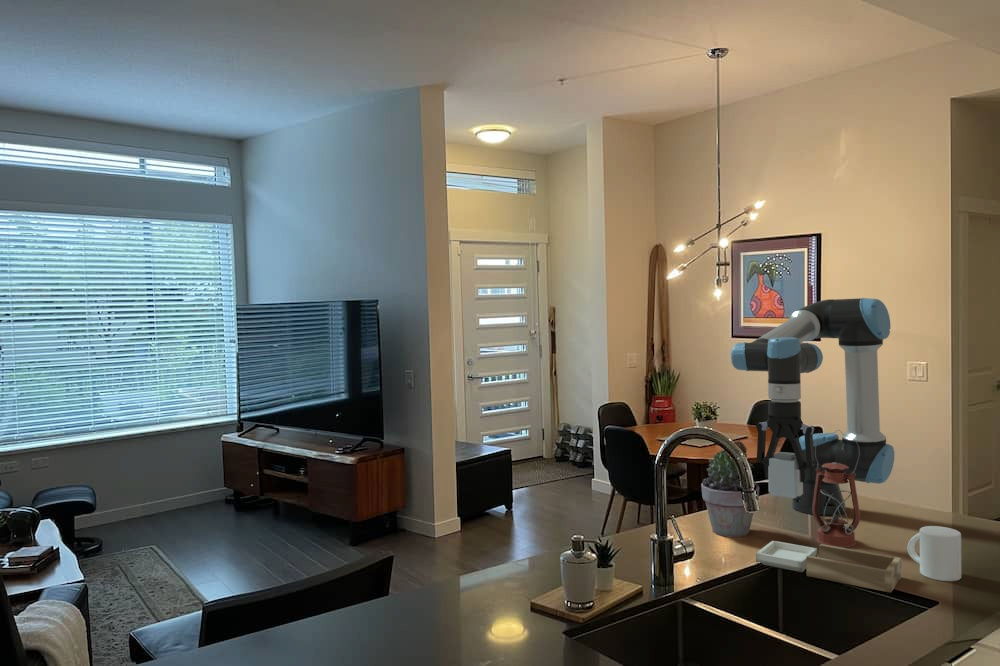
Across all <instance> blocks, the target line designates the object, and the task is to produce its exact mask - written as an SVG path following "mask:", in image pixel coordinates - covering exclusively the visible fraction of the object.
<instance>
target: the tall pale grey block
mask: <svg viewBox="0 0 1000 666" xmlns="http://www.w3.org/2000/svg"><path fill="white" fill-rule="evenodd" d="M798 468H799V465H798V462H797V459H796V456H795V453H794V452H785V451H784V452H782V451H779V452H776V453H775V454H774V457H772V458H770V459H769V480H770V492H769V496H775V497H782V498H789V499H793V498H796V497H797V496H796V469H798Z"/></svg>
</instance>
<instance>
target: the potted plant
mask: <svg viewBox="0 0 1000 666" xmlns="http://www.w3.org/2000/svg"><path fill="white" fill-rule="evenodd" d="M733 442H734V443H735V444H736V445H737V446H738V447H739V448H740V449H741V451H742V452H743V454H744V455H745V457H746V458H748V457H747V456H748V454H747V450H748V449H747V447H746V446H745V444H744V443H743V442H742V441H740V440H734V441H732V443H733ZM709 456H712V458H711V459H708V462H709V464H708V465H706V466H708V468H706V472H707V474H708V477H707V478H704V479H703V480H702V482H701V484H700V486H699V487H698V488H697V489H699V488H700V487H701V494H702V495H701V496H702V499H703V501H704V502H705V505H706V509H707V514H708V518H709V522H710V525H711V529H712V533H714V534H716V535H718V536H722V537H727V538H739V537H738V536H741V537H745V536H748V535H749V533H750V529H751V524H752V520H753V516H754V512H753V513H749V512H746V511H745V508H744V504H743V499H742V494H741V488H740V482H739V479H738V475H737V471H736V468H735V466H734V463H733V461H732V459H731V458H730V456H729V455H728V453H727V452H726V451H725V450H724V448H723V449H722V450H720V451H717V452H716V454H709ZM748 463H749V465H750V467H751V468H753V469H755V467H754V466H753V465H754V463H751V462H750V461H748ZM706 466H705V467H706ZM754 483H755V485H756V491H757V495H758V499H759V498H760V486H759V485H758V484H759V483H756V482H754ZM747 534H748V535H747ZM744 535H745V536H744Z"/></svg>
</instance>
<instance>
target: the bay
mask: <svg viewBox="0 0 1000 666" xmlns="http://www.w3.org/2000/svg"><path fill="white" fill-rule="evenodd" d="M805 570H806V573H805V574H806V576H807V577H811V578H814V579H815V578H816V579H821V580H826V581H831V582H836V583H840V584H846V585H851V586H857V587H860V588H866V589H871V590H876V591H879V592H880V591H881V592H886V593H892V592H893V590H894V588H895V587H896V586H897V584H898V583H899V581H900V580H901V578H902V557H898V556H892V555H887V554H881V553H874V552H870V551H864V550H859V549H852V548H848V547H835V546H829V545H824V544H821V543H820V544H819V545H818V556H817V557H814V556H807V557H806V569H805Z"/></svg>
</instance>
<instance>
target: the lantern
mask: <svg viewBox="0 0 1000 666" xmlns="http://www.w3.org/2000/svg"><path fill="white" fill-rule="evenodd" d="M839 431H840V433H841V434H842V435H844V433H842V431H841V430H840V429H838V430H836V431H835V432H828V433H829V434H832V433H834V434H836V432H839ZM824 435H827V434H824ZM820 436H822V435H820ZM845 436H847V435H845ZM818 437H819V436H818ZM818 437H817V438H818ZM848 437H849V436H848ZM817 438H816V440H817ZM850 438H852V437H850ZM852 439H853V438H852ZM854 440H855V439H854ZM855 441H856V440H855ZM856 443H857V442H856ZM857 445H858V444H857ZM858 448H859V446H858ZM859 455H860V450H859ZM815 457H816V442H815ZM858 459H859V457H858ZM816 460H817V459H816ZM817 463H818V461H817ZM857 463H858V461H857ZM817 465H818V464H817ZM856 466H857V464H856ZM817 467H818V466H817ZM822 467H826V470H825V471H821V470H820V469H819V468H816V472H817V475H816V483H815V491H814V498H813V506H812V511H813V514H812V515H813V517H814V520H815V521H816V523H817V524H818V525H819V526H820V527H818V529H817V538H816V541H817V543H820V544H824V545H829V546H835V547H841V548H851V547H854V546H856V544H857V543H856V539H855V538H856V536H855V530H856V529H857V527H858V526H859V524H860V521H861V513H860V506H859V505H860V504H859V501H858V500H859V498H858V493H857V488H856V481H855V479H854V477H855V475H856V474H855V472H854V471H855V470H856V467H855V469H854V471H853V472H852V473H851V474H846V472H845V471H844V469H845V468H849V466H846V465H844V464H840V463H836V462H833V463H826V464H823V465H822ZM817 469H819V470H817ZM853 473H854V474H853ZM822 476H824V478H823V480H822V481H824V482H827V483H834V484H839V485H842V484H844V485H845V484H849V488H850V491H848V490H844V489H843V490H841V491H837V492H841V493H842V492H845V493H849V495H848V496H847V497H846V498H845V499H844V501H843V502H845V503H846V501H847V500H848V499H850V497H851V501H852V502H851V503H852V507H853V519H852V522H851V523H850V524H849V519H848V515H847V512H846V509H845V510H844V508H843V506H842V505H841V504H842V503H843V502H842V503H840V502H839V501H838V500H837V499H836V498H834V497H832V495H834V494H835V493H837V492H835V493H833V494H832V495H830V494H829V493H827V492H826V491H824V490H822V489H821V490H820V487H821V479H822ZM847 479H848V480H847ZM820 491H821V493H823V492H822V491H824V492H826V493H827V494H828V495H827V494H825V493H823V494H824V495H827V496H829V497H830V498H832V499H833V500H834V499H835V500H836V501H838V502H839V503H840V505H841V506H842V508H843V510H844V514H845V517H846V520H847V521H846V520H845V519H843V517H842V515H841V514H842V513H841V514H835V513H836V511H837V509H838V508H839V506H840V505H839V506H837V504H836V502H835V500H834V502H835V504H836V506H837V509H836V511H835V513H834V514H833V515H832V518H831V517H830V518H825V516H826V515H825V510H824V515H823V519H822V518H821V515H819V513H818V501H819V494H820ZM830 498H829V500H830ZM829 500H828V501H829ZM827 504H828V502H827ZM827 504H826V506H827ZM825 509H826V507H825ZM838 511H839V509H838ZM839 513H840V511H839ZM840 518H841V519H840ZM823 520H824V521H823Z"/></svg>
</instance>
